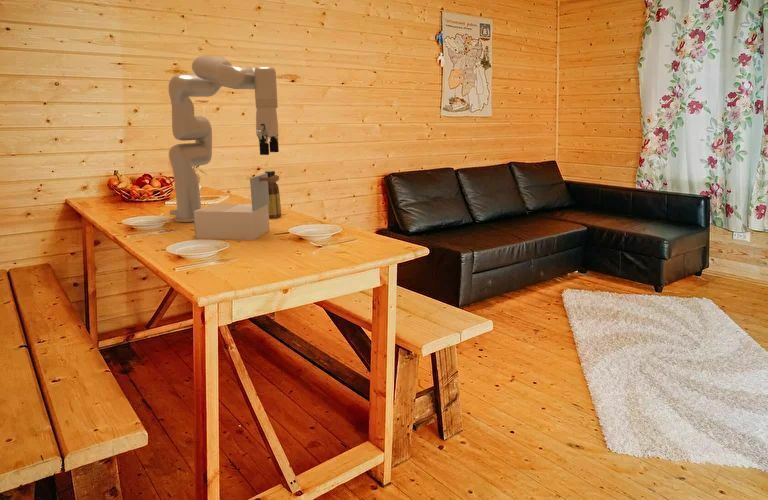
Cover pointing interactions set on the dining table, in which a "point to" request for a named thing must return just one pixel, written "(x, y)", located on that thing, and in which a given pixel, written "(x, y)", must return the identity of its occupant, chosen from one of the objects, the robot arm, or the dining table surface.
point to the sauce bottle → (273, 198)
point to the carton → (231, 221)
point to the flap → (261, 190)
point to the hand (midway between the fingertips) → (269, 153)
